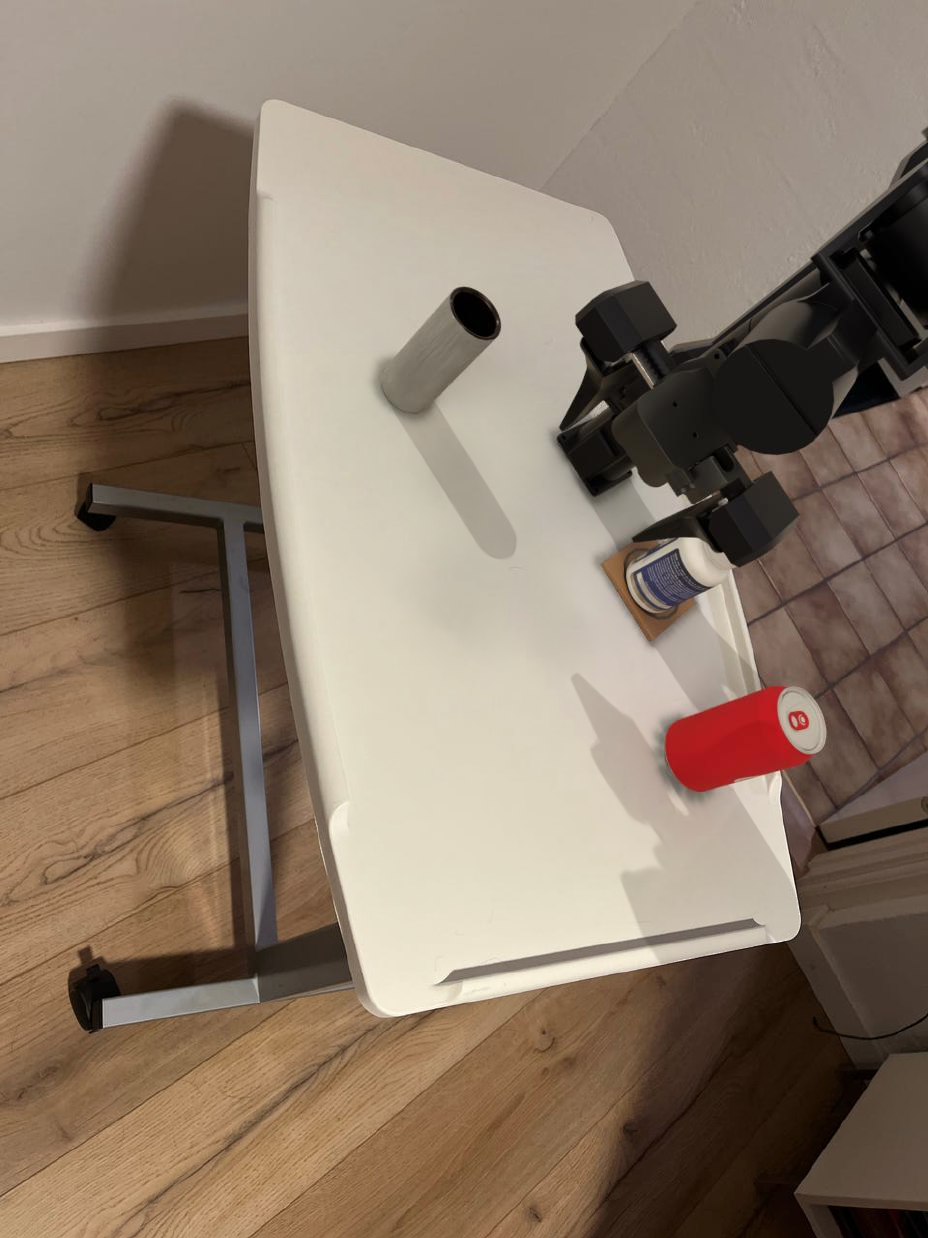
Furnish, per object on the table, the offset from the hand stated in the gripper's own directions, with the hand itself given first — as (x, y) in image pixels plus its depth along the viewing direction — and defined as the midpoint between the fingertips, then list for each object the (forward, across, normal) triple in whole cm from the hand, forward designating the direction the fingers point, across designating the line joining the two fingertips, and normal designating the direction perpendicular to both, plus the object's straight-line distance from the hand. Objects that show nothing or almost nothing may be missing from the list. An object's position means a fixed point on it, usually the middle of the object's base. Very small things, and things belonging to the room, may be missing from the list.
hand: (599, 483), depth 63 cm
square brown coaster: (+12, +10, +14) cm, 21 cm away
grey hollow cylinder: (+12, -15, +1) cm, 20 cm away
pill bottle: (+12, +10, +13) cm, 20 cm away
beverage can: (+12, +23, +5) cm, 27 cm away
